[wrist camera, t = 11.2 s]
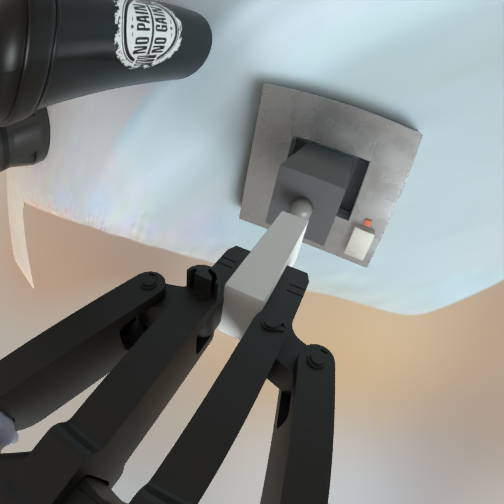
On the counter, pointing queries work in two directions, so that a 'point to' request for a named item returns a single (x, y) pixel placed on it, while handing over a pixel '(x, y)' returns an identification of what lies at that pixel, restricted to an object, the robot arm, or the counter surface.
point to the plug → (311, 189)
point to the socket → (341, 138)
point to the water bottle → (92, 49)
